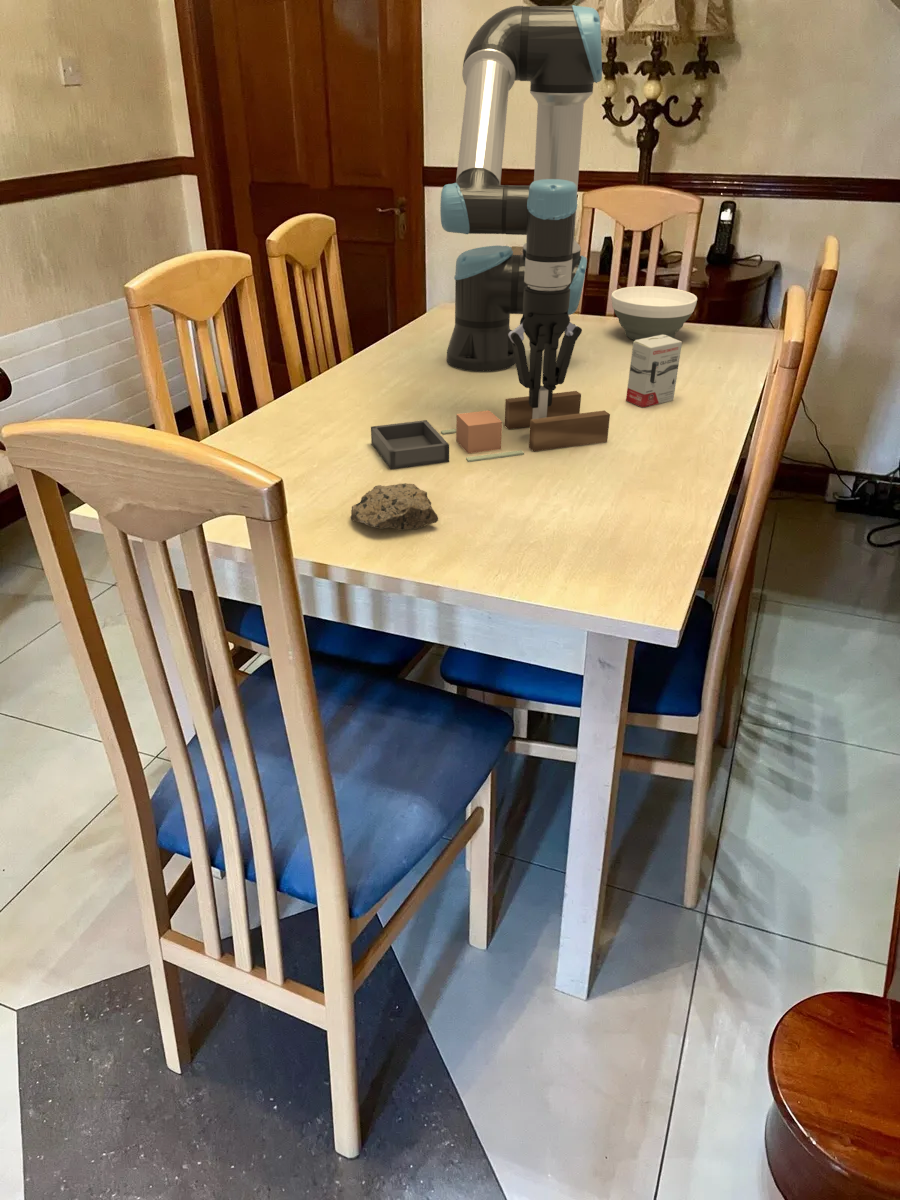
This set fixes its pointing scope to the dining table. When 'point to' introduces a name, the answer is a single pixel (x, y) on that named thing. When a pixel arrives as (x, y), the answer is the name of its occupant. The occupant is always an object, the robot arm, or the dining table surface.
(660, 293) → the bowl
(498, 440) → the rust block
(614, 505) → the dining table surface
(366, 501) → the rock
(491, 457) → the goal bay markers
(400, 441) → the tray
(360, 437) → the dining table surface
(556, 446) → the channel
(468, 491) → the dining table surface
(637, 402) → the ink box
